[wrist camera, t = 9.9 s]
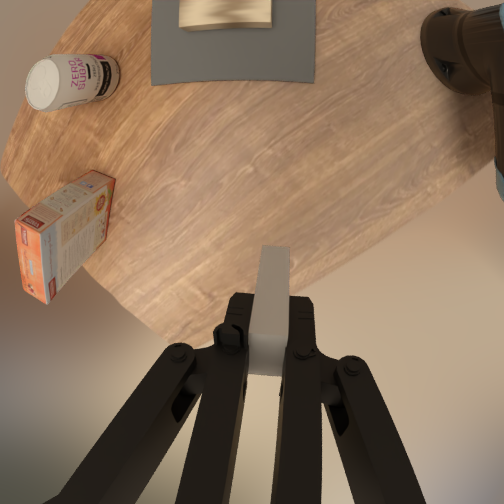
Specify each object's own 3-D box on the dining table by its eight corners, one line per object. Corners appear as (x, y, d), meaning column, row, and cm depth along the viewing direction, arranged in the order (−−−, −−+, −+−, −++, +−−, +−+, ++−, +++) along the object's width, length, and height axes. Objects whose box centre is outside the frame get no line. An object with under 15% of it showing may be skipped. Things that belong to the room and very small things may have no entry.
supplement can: (76, 80, 38) (15, 89, 25) (105, 46, 35) (45, 43, 22) (98, 109, 41) (39, 126, 28) (130, 76, 38) (72, 80, 25)
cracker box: (91, 168, 47) (12, 218, 29) (117, 178, 48) (41, 234, 30) (83, 229, 54) (21, 290, 36) (106, 240, 55) (47, 307, 37)
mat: (314, -37, 26) (314, -40, 25) (313, 83, 37) (313, 83, 36) (157, -27, 28) (154, -29, 27) (153, 85, 39) (151, 85, 38)
